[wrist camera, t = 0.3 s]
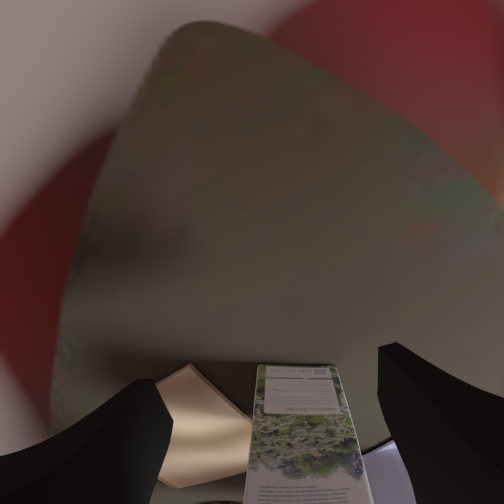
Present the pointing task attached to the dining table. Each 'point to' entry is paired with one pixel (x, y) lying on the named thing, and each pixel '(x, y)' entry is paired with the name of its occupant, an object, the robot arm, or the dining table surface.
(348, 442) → the syrup box
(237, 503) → the burger
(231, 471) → the beige folded napkin
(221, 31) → the dining table surface
